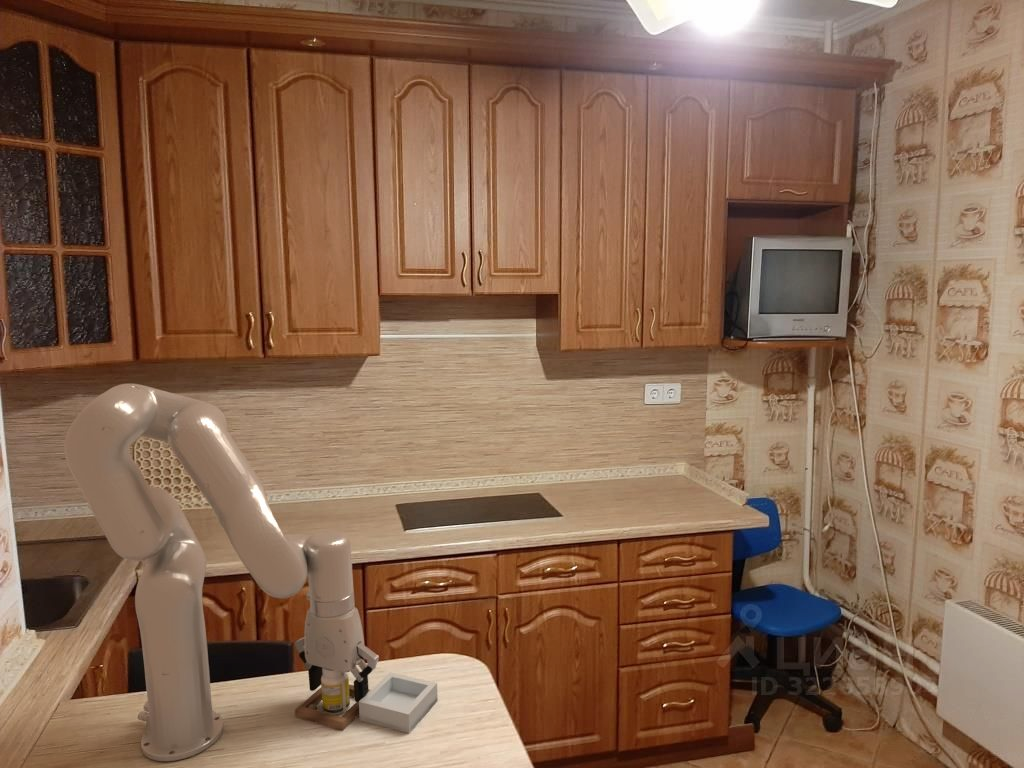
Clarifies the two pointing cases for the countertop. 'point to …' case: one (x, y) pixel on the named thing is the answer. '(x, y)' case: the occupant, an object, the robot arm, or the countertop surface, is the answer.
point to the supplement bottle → (335, 691)
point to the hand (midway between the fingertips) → (338, 692)
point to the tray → (311, 714)
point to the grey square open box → (398, 702)
